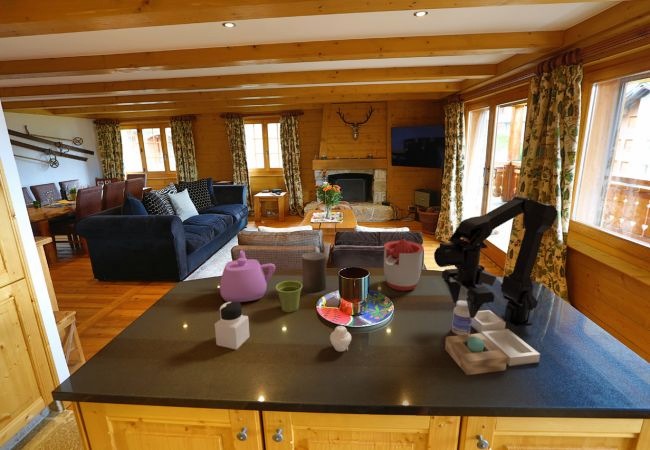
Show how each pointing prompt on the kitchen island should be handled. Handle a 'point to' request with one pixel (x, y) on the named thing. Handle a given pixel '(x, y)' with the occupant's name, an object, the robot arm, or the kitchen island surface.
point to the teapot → (244, 280)
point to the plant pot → (289, 295)
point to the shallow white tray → (512, 347)
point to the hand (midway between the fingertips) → (463, 310)
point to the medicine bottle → (232, 326)
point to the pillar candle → (314, 271)
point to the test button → (475, 344)
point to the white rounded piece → (340, 338)
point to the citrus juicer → (402, 264)
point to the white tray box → (487, 321)
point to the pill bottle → (461, 319)
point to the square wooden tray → (475, 355)
